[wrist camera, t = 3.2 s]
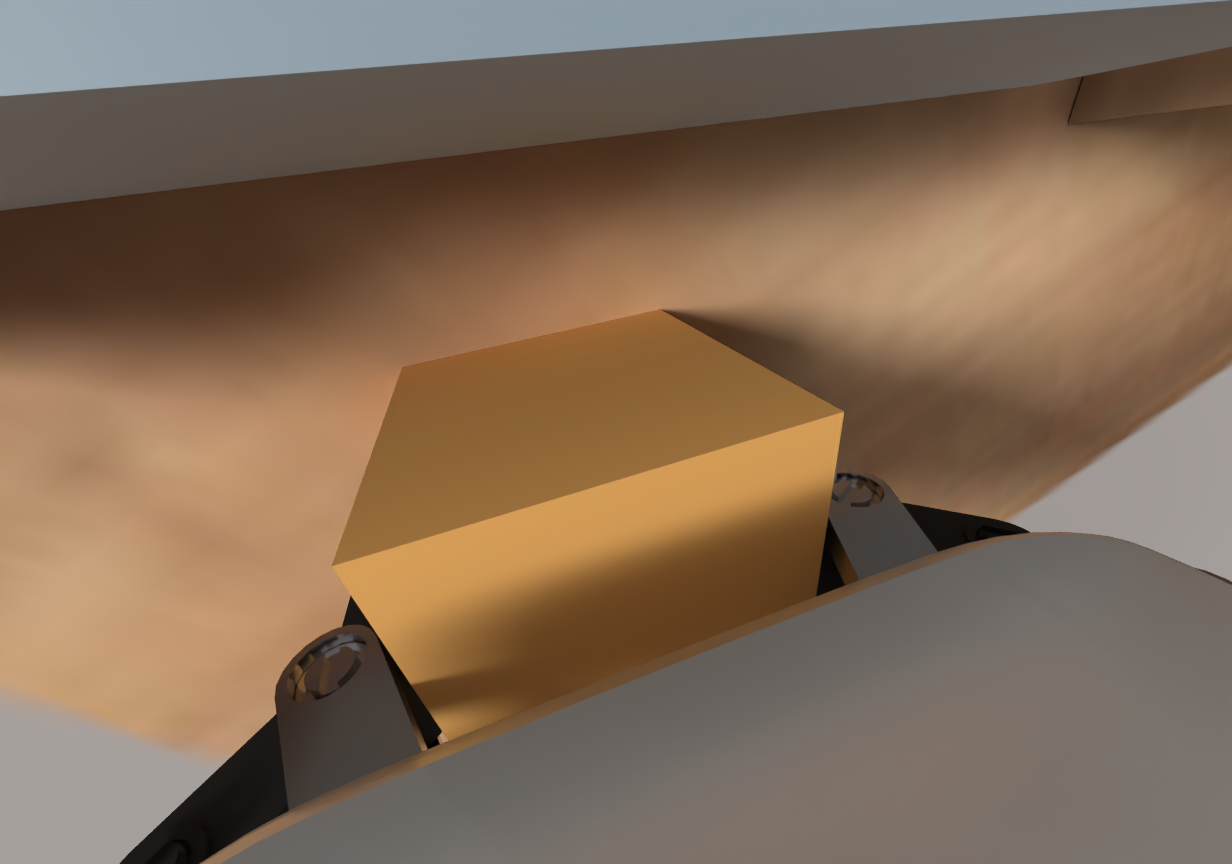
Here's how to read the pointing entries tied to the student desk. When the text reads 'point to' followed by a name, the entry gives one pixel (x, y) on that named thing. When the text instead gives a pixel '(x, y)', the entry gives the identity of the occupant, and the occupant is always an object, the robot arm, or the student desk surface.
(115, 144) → the gate door
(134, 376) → the student desk surface
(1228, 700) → the robot arm
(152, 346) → the student desk surface
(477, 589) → the orange stepped block
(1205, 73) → the wooden posts
